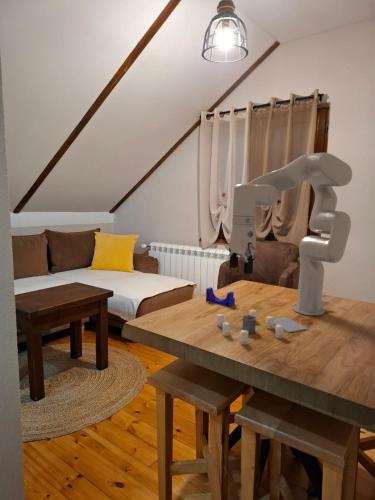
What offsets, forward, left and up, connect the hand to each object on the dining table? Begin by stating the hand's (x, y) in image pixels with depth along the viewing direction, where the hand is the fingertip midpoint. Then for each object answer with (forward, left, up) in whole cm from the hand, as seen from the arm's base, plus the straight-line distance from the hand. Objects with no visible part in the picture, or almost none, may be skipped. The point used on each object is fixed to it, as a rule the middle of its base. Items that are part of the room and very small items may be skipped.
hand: (240, 270), depth 120 cm
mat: (-20, +3, -22) cm, 30 cm away
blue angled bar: (-9, -29, -22) cm, 37 cm away
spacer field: (-3, +3, -22) cm, 22 cm away
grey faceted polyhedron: (-3, +3, -22) cm, 22 cm away
